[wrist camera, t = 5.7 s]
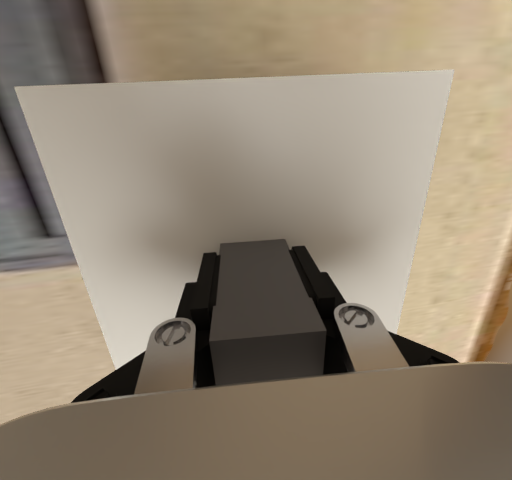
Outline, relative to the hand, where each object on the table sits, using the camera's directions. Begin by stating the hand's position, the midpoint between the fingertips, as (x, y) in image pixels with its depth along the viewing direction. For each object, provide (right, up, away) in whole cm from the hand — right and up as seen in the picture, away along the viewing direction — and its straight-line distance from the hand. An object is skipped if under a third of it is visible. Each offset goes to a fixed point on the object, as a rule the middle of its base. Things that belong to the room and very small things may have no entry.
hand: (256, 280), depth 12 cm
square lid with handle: (0, +1, +2) cm, 2 cm away
